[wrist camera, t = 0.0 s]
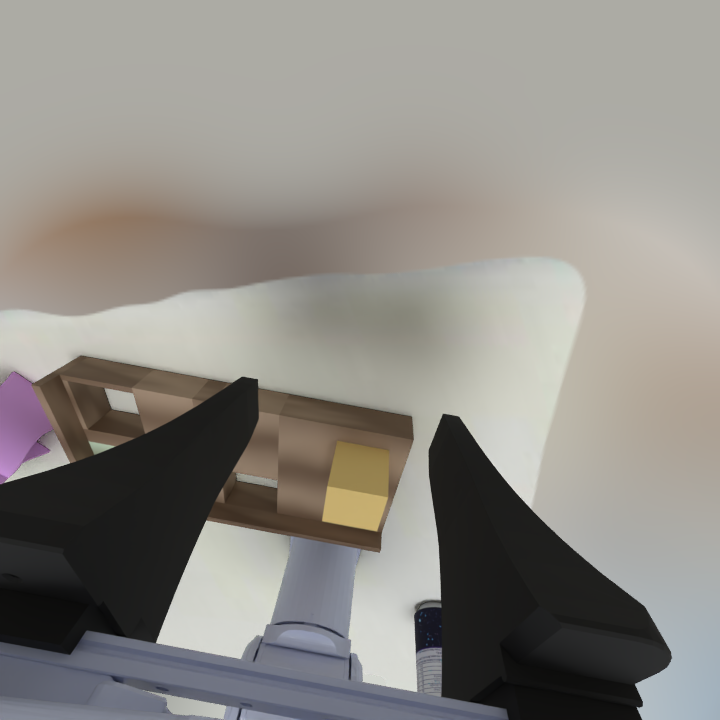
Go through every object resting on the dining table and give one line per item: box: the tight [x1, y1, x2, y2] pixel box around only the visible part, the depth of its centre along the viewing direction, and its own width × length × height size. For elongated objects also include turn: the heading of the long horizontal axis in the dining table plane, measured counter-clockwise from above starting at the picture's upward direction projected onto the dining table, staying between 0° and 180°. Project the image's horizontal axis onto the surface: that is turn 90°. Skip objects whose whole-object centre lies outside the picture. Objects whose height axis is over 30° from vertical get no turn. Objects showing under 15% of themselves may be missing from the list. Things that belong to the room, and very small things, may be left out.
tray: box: [31, 356, 414, 553], centre depth 27 cm, size 13×27×4 cm, turn 81°
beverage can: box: [414, 602, 442, 697], centre depth 37 cm, size 6×6×12 cm
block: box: [322, 441, 389, 531], centre depth 23 cm, size 4×4×4 cm
